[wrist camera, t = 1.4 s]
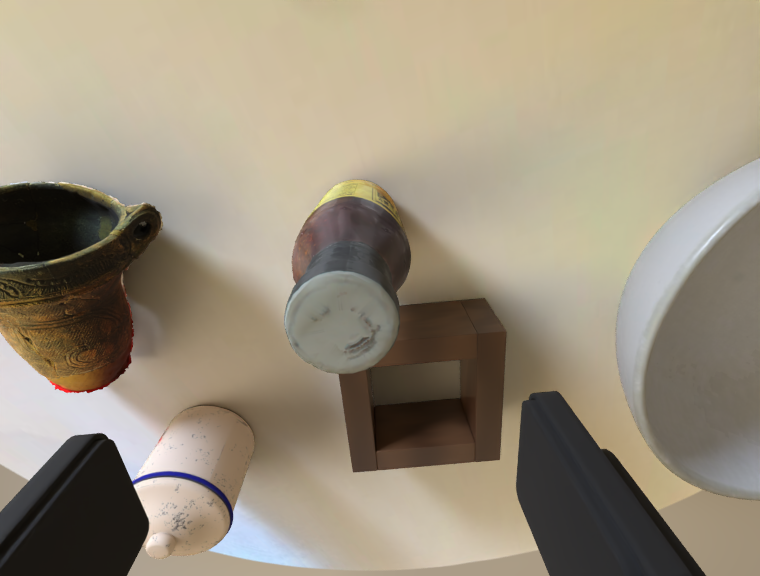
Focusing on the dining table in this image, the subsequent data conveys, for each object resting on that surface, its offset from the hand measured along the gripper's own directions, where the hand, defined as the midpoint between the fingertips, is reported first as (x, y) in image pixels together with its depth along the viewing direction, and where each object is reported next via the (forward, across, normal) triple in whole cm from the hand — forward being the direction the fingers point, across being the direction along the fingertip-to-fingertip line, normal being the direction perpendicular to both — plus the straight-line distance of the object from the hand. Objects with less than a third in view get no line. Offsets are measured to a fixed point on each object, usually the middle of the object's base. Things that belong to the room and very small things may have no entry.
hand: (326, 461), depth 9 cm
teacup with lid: (+25, +16, +23) cm, 38 cm away
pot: (+25, +22, +1) cm, 34 cm away
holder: (+25, -4, +15) cm, 29 cm away
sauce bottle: (+25, 0, 0) cm, 25 cm away
